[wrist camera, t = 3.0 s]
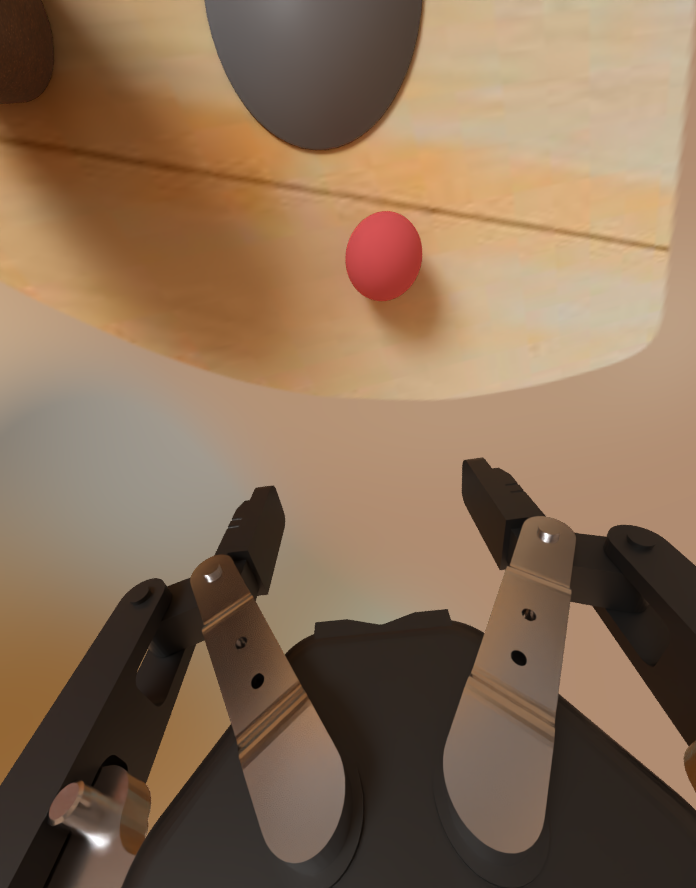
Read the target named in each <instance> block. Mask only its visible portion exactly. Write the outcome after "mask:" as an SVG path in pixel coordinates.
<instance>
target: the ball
mask: <svg viewBox="0 0 696 888" xmlns="http://www.w3.org/2000/svg"><path fill="white" fill-rule="evenodd" d="M421 262H422V245H421V240H420V237H419V234H418V232H417V230H416V229H415V227H414V226H413V224H412V223H411V222H410V221H409V220H408V219H407V218H405V217H404V216H402V215H400V214H398V213H395V212H390V211H382V212H377V213H374V214H372V215H370V216H368V217H367V218H365V219H364V220H363V221H361V222H360V223H359V224H358V226H357V227H356V228H355V230H354V231H353V233H352V234H351V237H350V239H349V242H348V245H347V249H346V269H347V273H348V276H349V279H350V281H351V282H352V284H353V286H354V287H355V288H356V289H357V291H358V292H360V293H361V294H362V295H364V296H365V297H367V298H369V299H372V300H377V301H387V300H391V299H394V298H396V297H398V296H400V295H402V294H403V293H404V292H405V291H407V290H408V289H409V288H410V286H411V285H412V284H413V282H414V281H415V279H416V277H417V275H418V273H419V270H420V267H421Z"/></svg>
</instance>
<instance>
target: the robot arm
mask: <svg viewBox="0 0 696 888" xmlns="http://www.w3.org/2000/svg"><path fill="white" fill-rule="evenodd" d="M462 496H463V500H464V503H465V506H466V507H467V509H468V511H469V513H470V515H471V517H472V519H473V521H474V522H475V524H476V526H477V528H478V530H479V532H480V534H481V536H482V538H483V539H484V541H485V543H486V545H487V547H488V549H489V551H490V552H491V554H492V556H493V558H494V560H495V562H496V563H497V566H498V568H499V569H500V570H504V569H505V573H504V576H503V579H502V582H501V585H500V588H499V591H498V594H497V597H496V600H495V603H494V606H493V610H492V612H491V615H490V618H489V621H488V624H487V627H486V630H485V633H483V632H482V631H480V630H478V629H476V628H474V627H472V626H469V625H467V624H464V623H461V622H457V621H452V620H451V619H450V615H449V613H448V609H445V610H435V611H425V612H415V613H412V614H409V615H407V616H404V617H401V618H399V619H396V620H394V621H391V622H388V623H386V624H382V625H378V624H372V623H365V622H360V621H354V620H348V619H346V620H336V621H326V622H316V623H315V631H314V634H313V635H311V636H309V637H307V638H305V639H303V640H302V641H300V642H298V643H297V644H296V645H295V646H293V647H292V648H291V649H290V650H289V651H288V652H287V653H286V654H285V655H284V653H283V651H282V649H281V647H280V645H279V644H278V642H277V640H276V638H275V636H274V634H273V633H272V631H271V629H270V627H269V625H268V623H267V622H266V620H265V618H264V616H263V614H262V612H261V611H260V609H259V607H258V605H257V603H256V598H257V596H259V595H267V594H268V592H269V588H270V584H271V580H272V576H273V572H274V568H275V564H276V560H277V556H278V552H279V547H280V544H281V540H282V536H283V532H284V528H285V515H284V511H283V508H282V505H281V502H280V500H279V497H278V494H277V491H276V488H275V487H274V486H265V487H258V488H255V490H254V492H253V494H252V497H251V499H250V500H248V501H244V502H243V503H242V504H241V505H240V507H238V508H237V510H236V512H235V514H234V516H233V518H232V521H231V522H230V524H229V526H228V529H227V530H226V533H225V534H224V536H223V539H222V541H221V543H220V545H219V547H218V549H217V551H216V553H215V555H214V556H212V557H210V558H208V559H206V560H205V561H203V562H202V563H201V564H200V565H198V567H197V568H196V569H195V570H194V572H193V573H192V575H191V577H190V578H189V579H185V580H183V581H180V582H178V583H175V584H172V585H170V586H166V585H165V583H164V582H163V580H161V579H157V578H154V579H149V580H146V581H144V582H141V583H140V584H138V585H136V586H135V587H133V588H132V589H131V590H130V591H129V592H127V593H126V594H125V596H124V597H123V598H122V599H121V601H120V602H119V604H118V605H117V607H116V608H115V610H114V611H113V613H112V614H111V616H110V617H109V619H108V621H107V622H106V624H105V625H104V627H103V628H102V630H101V631H100V633H99V634H98V636H97V638H96V639H95V641H94V642H93V644H92V645H91V647H90V648H89V650H88V651H87V653H86V655H85V656H84V658H83V659H82V661H81V662H80V664H79V665H78V667H77V668H76V670H75V671H74V673H73V674H72V676H71V678H70V679H69V681H68V682H67V684H66V685H65V687H64V688H63V690H62V691H61V693H60V695H59V696H58V698H57V699H56V701H55V702H54V704H53V705H52V707H51V708H50V710H49V712H48V713H47V715H46V716H45V718H44V719H43V721H42V722H41V724H40V725H39V727H38V728H37V730H36V731H35V733H34V735H33V736H32V738H31V739H30V741H29V742H28V744H27V745H26V747H25V749H24V750H23V752H22V753H21V755H20V756H19V758H18V759H17V761H16V762H15V764H14V765H13V767H12V768H11V770H10V772H9V773H8V775H7V776H6V778H5V779H4V781H3V782H2V784H1V785H0V888H696V810H695V809H694V808H693V807H692V806H691V805H690V804H689V803H688V802H686V800H685V799H683V798H682V797H681V796H680V795H679V794H678V793H677V792H675V791H674V790H673V789H672V788H671V787H670V786H668V785H667V784H666V783H665V782H664V781H662V780H661V779H660V778H659V777H658V776H656V775H655V774H654V773H653V772H652V771H650V770H649V769H648V768H647V767H646V766H644V765H643V764H642V763H641V762H640V761H638V760H637V759H636V758H635V757H634V756H632V755H631V754H630V753H629V752H628V751H627V750H625V749H624V748H623V747H622V746H620V745H619V744H618V743H617V742H616V741H615V740H613V739H612V738H611V737H610V736H609V735H607V734H606V733H605V732H604V731H603V730H601V729H600V728H599V727H598V726H597V725H595V724H594V723H593V722H592V721H591V720H589V719H588V718H587V717H586V716H584V715H583V714H582V713H581V712H580V711H579V710H577V709H576V708H575V707H574V706H573V705H571V704H570V703H569V702H568V701H567V700H566V699H564V698H563V697H562V696H561V695H560V694H558V692H559V685H560V676H561V669H562V661H563V653H564V646H565V638H566V630H567V623H568V615H569V607H570V602H575V603H581V604H586V605H592V606H593V608H594V609H595V610H596V612H597V613H598V615H599V616H600V618H601V619H602V621H603V622H604V623H605V625H606V626H607V628H608V629H609V631H610V632H611V634H612V635H613V636H614V638H615V640H616V641H617V642H618V644H619V645H620V647H621V648H622V650H623V651H624V653H625V654H626V656H627V657H628V658H629V660H630V661H631V663H632V664H633V666H634V667H635V669H636V670H637V672H638V673H639V674H640V676H641V677H642V679H643V680H644V682H645V683H646V685H647V686H648V688H649V689H650V690H651V692H652V693H653V695H654V696H655V698H656V699H657V701H658V702H659V704H660V705H661V706H662V708H663V709H664V711H665V712H666V714H667V715H668V717H669V718H670V719H671V721H672V723H673V724H674V725H675V727H676V728H677V730H678V731H679V733H680V734H681V736H682V737H683V739H684V740H685V741H686V742H687V744H688V746H689V747H688V748H687V749H686V751H685V754H684V766H685V771H686V773H687V776H688V778H689V781H690V782H691V784H692V786H693V788H694V790H695V792H696V566H695V565H694V564H693V563H692V562H691V561H689V560H688V559H687V558H686V557H685V556H684V555H682V554H681V553H680V552H679V551H678V550H677V549H676V548H674V547H673V546H672V545H671V544H670V543H669V542H668V541H666V540H665V539H664V538H663V537H661V536H659V535H658V534H656V533H654V532H652V531H650V530H647V529H644V528H641V527H637V526H632V525H617V526H614V527H612V528H611V529H610V530H609V531H608V534H607V537H604V536H595V535H587V534H579V533H574V532H573V530H572V529H571V528H570V527H569V526H568V525H566V524H565V523H563V522H561V521H559V520H557V519H554V518H550V517H546V516H545V515H544V514H543V512H542V511H541V510H540V509H539V508H538V506H537V505H536V504H535V503H534V502H533V501H532V499H531V498H530V497H529V496H528V495H527V494H526V492H524V491H523V489H522V488H521V487H520V485H518V484H517V482H516V481H515V479H514V478H513V477H512V476H511V475H510V474H509V473H507V472H505V471H503V470H502V469H500V468H493V469H492V468H491V466H490V465H489V464H488V463H487V462H486V460H485V459H484V458H476V459H468V460H464V461H463V465H462ZM204 640H205V642H206V646H207V649H208V651H209V655H210V658H211V661H212V664H213V668H214V671H215V674H216V677H217V680H218V683H219V686H220V690H221V693H222V696H223V699H224V702H225V705H226V709H227V712H228V715H229V718H230V721H231V725H230V726H229V727H228V729H227V730H226V731H225V733H224V734H223V735H222V737H221V738H220V739H219V740H218V742H217V743H216V744H215V746H214V747H213V748H212V750H211V751H210V752H209V754H208V755H207V756H206V758H205V759H204V760H203V761H202V763H201V764H200V765H199V767H198V768H197V769H196V771H195V772H194V773H193V775H192V776H191V777H190V778H189V780H188V781H187V782H186V784H185V785H184V786H183V788H182V789H181V790H180V792H179V793H178V794H177V795H176V797H175V798H174V799H173V801H172V802H171V803H170V805H169V806H168V807H167V809H166V810H165V811H164V813H163V814H162V815H161V816H160V818H159V819H158V821H157V822H156V823H155V825H154V826H153V828H152V829H151V830H150V832H149V833H148V835H147V831H148V817H149V813H150V808H151V794H150V790H149V788H148V787H147V785H146V782H147V779H148V776H149V774H150V771H151V768H152V765H153V763H154V760H155V757H156V754H157V751H158V749H159V746H160V743H161V740H162V737H163V735H164V732H165V729H166V726H167V724H168V721H169V718H170V715H171V712H172V710H173V707H174V704H175V701H176V699H177V696H178V693H179V690H180V687H181V685H182V682H183V679H184V676H185V674H186V671H187V668H188V665H189V662H190V660H191V657H192V654H193V651H194V649H195V646H196V644H197V643H199V642H202V641H204ZM147 649H148V651H147ZM146 651H147V654H146V656H145V658H144V660H143V662H142V664H141V666H140V663H141V661H142V659H143V657H144V655H145V653H146ZM139 666H140V668H139ZM138 668H139V670H138ZM137 670H138V672H137ZM146 835H147V837H146ZM145 837H146V838H145Z"/></svg>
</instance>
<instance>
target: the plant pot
mask: <svg viewBox="0 0 696 888" xmlns="http://www.w3.org/2000/svg"><path fill="white" fill-rule="evenodd" d="M53 62H54V55H53V41H52V34H51V29H50V25H49V21H48V18H47V15H46V12H45V9H44V7H43V4H42V1H41V0H0V104H10V103H20V102H28V101H31V100H33V99H35V98H36V97H38V96H39V95H40V94H41V93H42V92H43V91H44V90H45V88H46V87H47V85H48V83H49V80H50V78H51V75H52V70H53Z"/></svg>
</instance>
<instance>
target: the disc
mask: <svg viewBox="0 0 696 888" xmlns="http://www.w3.org/2000/svg"><path fill="white" fill-rule="evenodd" d="M205 6H206V13H207V18H208V22H209V26H210V30H211V34H212V38H213V41H214V44H215V47H216V50H217V53H218V56H219V59H220V61H221V63H222V66H223V68H224V70H225V73H226V75H227V77H228V79H229V80H230V82H231V84H232V86H233V88H234V90H235V92H236V93H237V95H238V96H239V98H240V99H241V101H242V102H243V104H244V105H245V106H246V108H247V109H248V110H249V111H250V113H251V114H252V115H253V116H254V117H255V118H256V120H257V121H259V122H260V123H261V124H262V125H263V126H264V127H265V128H266V129H267V130H268V131H270V132H271V133H273V134H274V135H275V136H277V137H278V138H280V139H282V140H284V141H286V142H287V143H289V144H292V145H295V146H298V147H301V148H305V149H312V150H327V149H332V148H337V147H340V146H343V145H345V144H348V143H350V142H352V141H354V140H355V139H357V138H359V137H360V136H362V135H363V134H364V133H365V132H367V131H368V130H369V129H370V128H372V126H373V125H374V124H375V123H376V122H377V121H378V120H379V119H380V118H381V117H382V116H383V114H384V113H385V111H386V110H387V109H388V107H389V106H390V105H391V103H392V101H393V99H394V98H395V96H396V94H397V92H398V91H399V89H400V86H401V84H402V82H403V80H404V77H405V75H406V73H407V70H408V67H409V64H410V61H411V58H412V55H413V51H414V47H415V43H416V39H417V35H418V29H419V23H420V16H421V8H422V0H205Z"/></svg>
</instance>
